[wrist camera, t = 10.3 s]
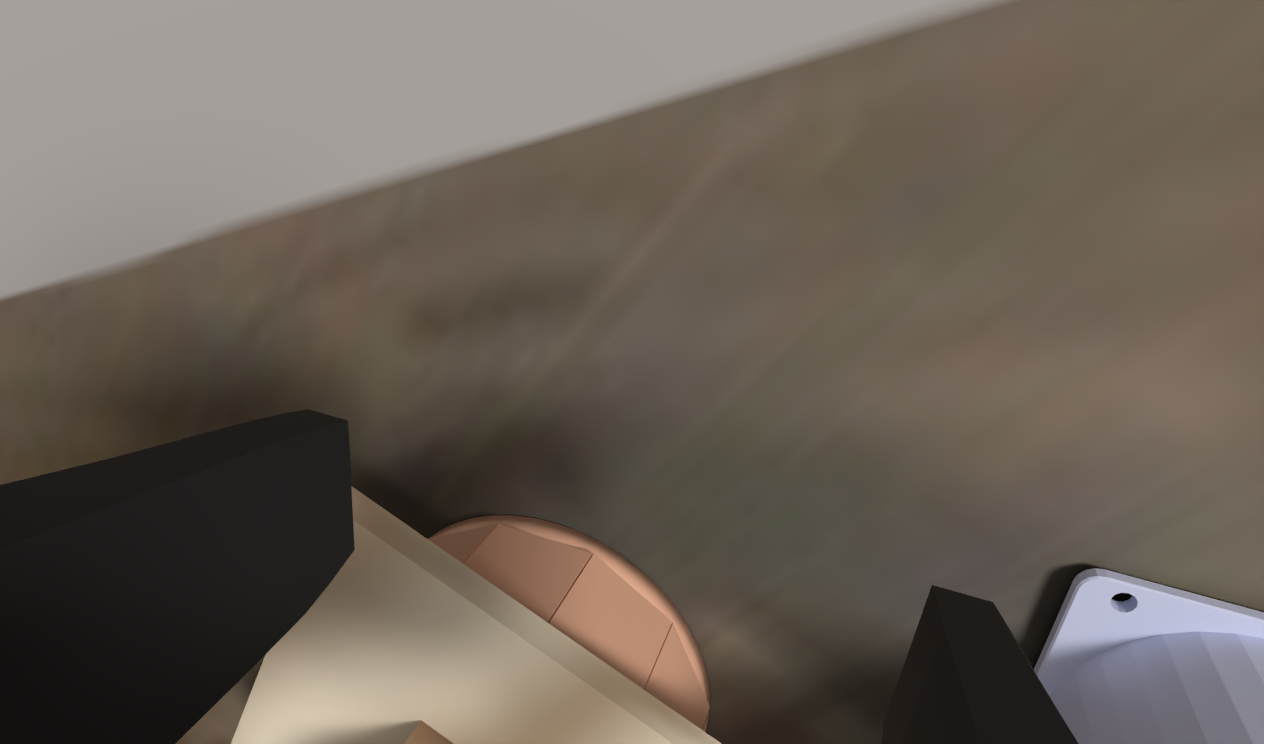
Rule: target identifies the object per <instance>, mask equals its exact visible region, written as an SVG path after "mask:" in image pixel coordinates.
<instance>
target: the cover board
mask: <svg viewBox="0 0 1264 744" xmlns="http://www.w3.org/2000/svg"><path fill="white" fill-rule="evenodd" d="M351 489H352V509H353V528H354V547H355V550H354V552H353V553H352V554H351V556H350V557H349V558H348V560H347V561H346V562H345V564H344V565H343V566H342V568H341V569H340V570H339V572H338V573H337V574H336V576H335V577H334V579H333V580H332V581H331V583H330V584H329V585H328V586H327V588H326V589H325V590H324V591H323V593H322V594H321V595H320V596H319V598H318V599H317V600H316V601H315V603H314V604H313V605H312V606H311V608H310V609H309V610H308V611H307V613H306V614H305V615H304V616H303V617H302V618H301V619H300V620H299V621H298V622H297V623H296V624H295V625H294V626H293V627H292V628H291V629H290V630H289V631H288V632H287V633H286V634H285V635H284V636H283V637H282V638H281V639H280V640H279V641H278V642H277V643H276V644H275V645H274V646H273V647H272V648H271V649H270V650H269V651H268V652H267V653H266V655H265V657H264V660H263V662H262V665H261V668H260V670H259V673H258V675H257V678H256V681H255V683H254V686H253V688H252V691H251V693H250V696H249V699H248V701H247V704H246V706H245V709H244V712H243V714H242V717H241V719H240V722H239V724H238V727H237V730H236V732H235V735H234V737H233V740H232V743H231V744H721V743H720V742H718V741H717V740H716V739H714V738H713V737H711V736H710V735H708V734H707V733H706V732H704V731H703V730H701V729H700V728H698V727H697V726H695V725H694V724H693V723H691V722H690V721H688V720H687V719H685V718H684V717H683V716H681V715H680V714H678V713H677V712H675V711H674V710H672V709H671V708H670V707H668V706H667V705H665V704H664V703H662V702H661V701H660V700H658V699H657V698H655V697H654V696H652V695H651V694H649V693H648V692H647V691H645V690H644V689H642V688H641V687H639V686H638V685H637V684H635V683H634V682H632V681H631V680H629V679H628V678H626V677H625V676H624V675H622V674H621V673H619V672H618V671H616V670H615V669H614V668H612V667H611V666H609V665H608V664H606V663H605V662H603V661H602V660H601V659H599V658H598V657H596V656H595V655H593V654H592V653H591V652H589V651H588V650H586V649H585V648H583V647H582V646H580V645H579V644H578V643H576V642H575V641H573V640H572V639H570V638H569V637H568V636H566V635H565V634H563V633H562V632H560V631H559V630H557V629H556V628H555V627H553V626H552V625H550V624H549V623H547V622H546V621H545V620H543V619H542V618H540V617H539V616H537V615H536V614H534V613H533V612H532V611H530V610H529V609H527V608H526V607H524V606H523V605H522V604H520V603H519V602H517V601H516V600H514V599H513V598H511V597H510V596H509V595H507V594H506V593H504V592H503V591H501V590H500V589H499V588H497V587H496V586H494V585H493V584H491V583H490V582H488V581H487V580H486V579H484V578H483V577H481V576H480V575H478V574H477V573H476V572H474V571H473V570H471V569H470V568H468V567H467V566H465V565H464V564H463V563H461V562H460V561H458V560H457V559H455V558H454V557H453V556H451V555H450V554H448V553H447V552H445V551H444V550H442V549H441V548H440V547H438V546H437V545H435V544H434V543H432V542H431V541H430V540H428V539H427V538H425V537H424V536H422V535H421V534H419V533H418V532H417V531H415V530H414V529H412V528H411V527H409V526H408V525H407V524H405V523H404V522H402V521H401V520H399V519H398V518H396V517H395V516H394V515H392V514H391V513H389V512H388V511H386V510H385V509H384V508H382V507H381V506H379V505H378V504H376V503H375V502H373V501H372V500H371V499H369V498H368V497H366V496H365V495H363V494H362V493H361V492H359V491H358V490H356V489H355V488H353V487H352V486H351Z"/></svg>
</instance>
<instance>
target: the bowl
mask: <svg viewBox="0 0 1264 744" xmlns="http://www.w3.org/2000/svg"><path fill="white" fill-rule="evenodd" d="M428 540H430V541H431V542H432V543H434V544H435V545H437V546H438V547H440V548H441V549H442V550H444V551H445V552H447V553H448V554H450V555H451V556H453V557H454V558H455V559H457V560H458V561H460V562H461V563H463V564H464V565H465V566H467V567H468V568H470V569H471V570H473V571H474V572H476V573H477V574H478V575H480V576H481V577H483V578H484V579H486V580H487V581H488V582H490V583H491V584H493V585H494V586H496V587H497V588H499V589H500V590H501V591H503V592H504V593H506V594H507V595H509V596H510V597H511V598H513V599H514V600H516V601H517V602H519V603H520V604H522V605H523V606H524V607H526V608H527V609H529V610H530V611H532V612H533V613H534V614H536V615H537V616H539V617H540V618H542V619H543V620H545V621H546V622H547V623H549V624H550V625H552V626H553V627H555V628H556V629H557V630H559V631H560V632H562V633H563V634H565V635H566V636H568V637H569V638H570V639H572V640H573V641H575V642H576V643H578V644H579V645H580V646H582V647H583V648H585V649H586V650H588V651H589V652H591V653H592V654H593V655H595V656H596V657H598V658H599V659H601V660H602V661H603V662H605V663H606V664H608V665H609V666H611V667H612V668H614V669H615V670H616V671H618V672H619V673H621V674H622V675H624V676H625V677H626V678H628V679H629V680H631V681H632V682H634V683H635V684H637V685H638V686H639V687H641V688H642V689H644V690H645V691H647V692H648V693H649V694H651V695H652V696H654V697H655V698H657V699H658V700H660V701H661V702H662V703H664V704H665V705H667V706H668V707H670V708H671V709H672V710H674V711H675V712H677V713H678V714H680V715H681V716H683V717H684V718H685V719H687V720H688V721H690V722H691V723H693V724H694V725H695V726H697V727H698V728H700V729H701V730H703V731H704V732H705V731H706V728H707V725H708V720H709V712H710V685H709V681H708V676H707V671H706V666H705V663H704V660H703V658H702V655H701V652H700V649H699V646H698V644H697V642H696V640H695V638H694V636H693V635H692V633H691V631H690V629H689V627H688V625H687V624H686V622H685V621H684V619H683V618H682V616H681V615H680V613H679V612H678V610H677V609H676V607H675V606H674V605H673V603H672V602H671V601H670V600H669V599H668V598H667V596H666V595H665V594H664V593H663V592H662V590H661V589H660V588H659V587H658V586H657V585H656V584H655V583H654V582H653V581H652V580H651V579H649V578H648V577H647V576H646V575H645V574H644V573H643V572H642V571H641V570H640V569H638V568H637V567H636V566H635V565H633V564H632V563H631V562H629V561H628V560H627V559H626V558H624V557H623V556H622V555H620V554H618V553H617V552H615V551H614V550H612V549H611V548H609V547H607V546H606V545H604V544H603V543H601V542H599V541H597V540H595V539H593V538H591V537H589V536H587V535H585V534H583V533H581V532H579V531H576V530H573V529H570V528H568V527H565V526H562V525H560V524H557V523H553V522H549V521H545V520H541V519H537V518H532V517H524V516H516V515H489V516H482V517H475V518H470V519H467V520H463V521H460V522H457V523H454V524H452V525H450V526H448V527H446V528H444V529H442V530H440V531H438V532H437V533H435V534H434V535H433V536H431V537H430V538H428Z"/></svg>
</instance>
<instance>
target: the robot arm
mask: <svg viewBox="0 0 1264 744" xmlns="http://www.w3.org/2000/svg"><path fill="white" fill-rule="evenodd" d="M354 550H355V547H354V528H353V509H352V489H351V470H350V451H349V432H348V421H347V420H343V419H340V418H336V417H332V416H329V415H325V414H322V413H318V412H315V411H311V410H302V411H296V412H290V413H285V414H280V415H276V416H271V417H267V418H262V419H258V420H254V421H250V422H246V423H242V424H238V425H234V426H231V427H227V428H223V429H219V430H215V431H212V432H208V433H204V434H200V435H197V436H193V437H189V438H185V439H182V440H178V441H174V442H170V443H167V444H163V445H159V446H156V447H152V448H148V449H144V450H141V451H137V452H133V453H129V454H126V455H122V456H118V457H114V458H111V459H107V460H102V461H98V462H94V463H90V464H86V465H82V466H78V467H74V468H69V469H65V470H61V471H57V472H53V473H49V474H45V475H40V476H36V477H32V478H28V479H24V480H20V481H16V482H12V483H7V484H3V485H0V744H175V743H176V742H177V741H178V740H179V739H180V738H181V737H182V736H183V735H184V734H185V733H186V732H187V731H188V730H189V729H190V728H191V727H192V726H194V725H195V724H196V723H197V722H198V721H199V720H200V719H201V718H202V717H203V716H204V715H205V714H206V713H207V712H208V711H209V710H210V709H211V708H212V707H213V706H214V705H215V704H216V703H217V702H218V701H219V700H220V699H221V698H222V697H223V696H224V695H225V694H226V693H227V692H228V691H229V690H230V689H231V688H232V687H233V686H234V685H235V684H236V683H237V682H238V681H239V680H240V679H241V678H242V677H243V676H244V675H245V674H246V673H247V672H248V671H249V670H250V669H251V668H252V667H253V666H254V665H255V664H256V663H257V662H258V661H259V660H260V659H261V658H262V657H263V656H264V655H265V654H266V653H267V652H268V651H269V650H270V649H271V648H272V647H273V646H274V645H275V644H276V643H277V642H278V641H279V640H280V639H281V638H282V637H283V636H284V635H285V634H286V633H287V632H288V631H289V630H290V629H291V628H292V627H293V626H294V625H295V624H296V623H297V622H298V621H299V620H300V619H301V618H302V617H303V616H304V615H305V614H306V613H307V611H308V610H309V609H310V608H311V606H312V605H313V604H314V603H315V601H316V600H317V599H318V598H319V596H320V595H321V594H322V593H323V591H324V590H325V589H326V588H327V586H328V585H329V584H330V583H331V581H332V580H333V579H334V577H335V576H336V574H337V573H338V572H339V570H340V569H341V568H342V566H343V565H344V564H345V562H346V561H347V560H348V558H349V557H350V556H351V554H352V553H353V552H354ZM1119 593H1129V594H1131V595H1133V596H1132V597H1131V598H1130V599H1129V600H1126V601H1123V602H1122V601H1115V600H1113V599H1111V598H1112V597H1113V596H1114V595H1116V594H1119ZM882 744H1264V612H1260V611H1257V610H1253V609H1249V608H1246V607H1242V606H1238V605H1234V604H1231V603H1227V602H1223V601H1220V600H1216V599H1212V598H1209V597H1205V596H1201V595H1198V594H1194V593H1190V592H1186V591H1183V590H1179V589H1175V588H1172V587H1168V586H1164V585H1161V584H1157V583H1153V582H1150V581H1146V580H1142V579H1138V578H1135V577H1131V576H1127V575H1124V574H1120V573H1116V572H1113V571H1109V570H1105V569H1098V568H1093V569H1088V570H1084V571H1083V572H1081V573H1079V574H1078V575H1077V576H1076V577H1075V578H1074V580H1073V582H1072V584H1071V586H1070V589H1069V591H1068V593H1067V595H1066V598H1065V600H1064V602H1063V604H1062V607H1061V609H1060V611H1059V614H1058V616H1057V618H1056V620H1055V623H1054V625H1053V627H1052V629H1051V632H1050V634H1049V636H1048V638H1047V641H1046V643H1045V645H1044V647H1043V650H1042V652H1041V654H1040V657H1039V659H1038V661H1037V663H1036V666H1035V668H1034V670H1033V668H1032V666H1031V665H1030V663H1029V661H1028V660H1027V658H1026V656H1025V654H1024V653H1023V651H1022V649H1021V648H1020V646H1019V644H1018V643H1017V641H1016V639H1015V638H1014V636H1013V634H1012V633H1011V631H1010V629H1009V628H1008V626H1007V624H1006V623H1005V621H1004V619H1003V618H1002V616H1001V614H1000V613H999V611H998V610H997V608H996V606H995V605H994V603H993V602H990V601H987V600H983V599H979V598H976V597H972V596H969V595H965V594H962V593H958V592H955V591H951V590H947V589H944V588H940V587H937V586H933V585H932V587H931V590H930V593H929V596H928V598H927V601H926V604H925V607H924V610H923V613H922V615H921V618H920V621H919V624H918V627H917V630H916V633H915V635H914V638H913V641H912V644H911V647H910V650H909V653H908V655H907V658H906V661H905V664H904V667H903V670H902V673H901V675H900V678H899V681H898V684H897V687H896V690H895V692H894V695H893V698H892V701H891V704H890V707H889V710H888V712H887V715H886V718H885V721H884V727H883V737H882Z"/></svg>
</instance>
